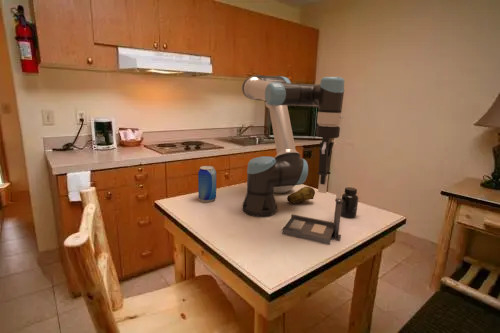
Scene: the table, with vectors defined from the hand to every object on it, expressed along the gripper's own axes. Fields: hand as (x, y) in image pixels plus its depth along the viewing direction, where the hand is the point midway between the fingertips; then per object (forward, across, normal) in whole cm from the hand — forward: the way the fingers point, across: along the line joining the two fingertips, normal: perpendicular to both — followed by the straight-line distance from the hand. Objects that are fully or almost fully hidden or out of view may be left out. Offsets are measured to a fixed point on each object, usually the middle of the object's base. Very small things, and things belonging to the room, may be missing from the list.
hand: (322, 192), depth 101 cm
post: (+16, 0, -6) cm, 17 cm away
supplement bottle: (+17, +24, -8) cm, 30 cm away
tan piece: (+10, +10, -5) cm, 15 cm away
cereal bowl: (+17, +41, +29) cm, 53 cm away
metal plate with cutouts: (+16, 0, +4) cm, 17 cm away
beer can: (+17, +11, +55) cm, 58 cm away
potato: (+17, +29, +14) cm, 36 cm away
